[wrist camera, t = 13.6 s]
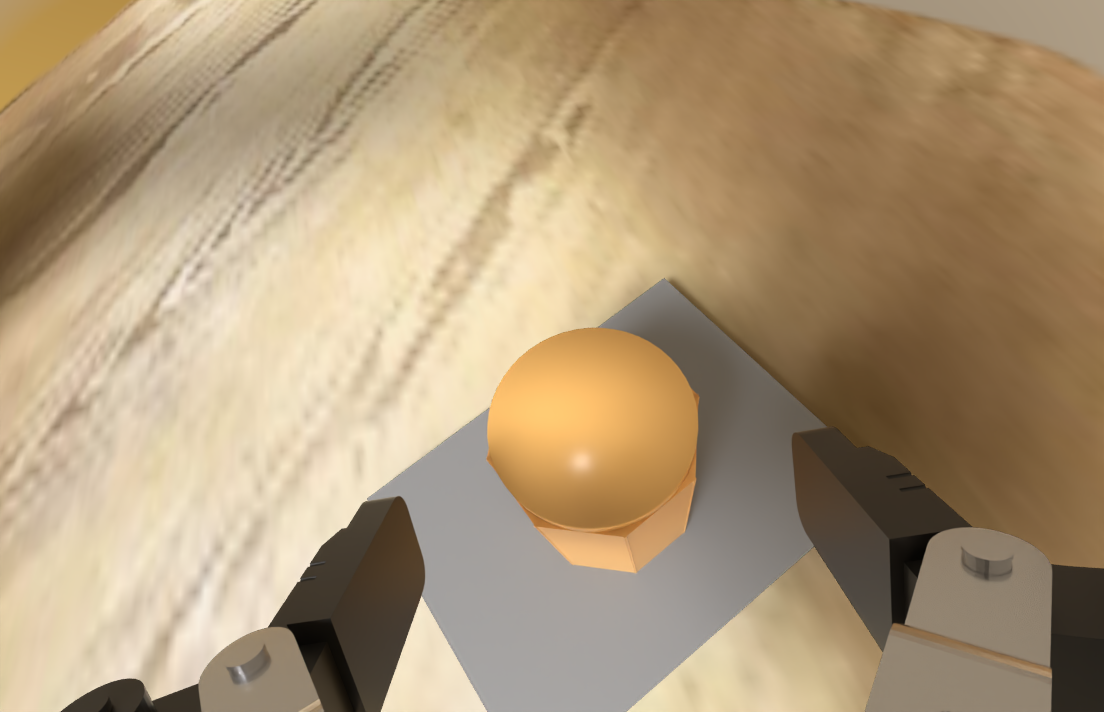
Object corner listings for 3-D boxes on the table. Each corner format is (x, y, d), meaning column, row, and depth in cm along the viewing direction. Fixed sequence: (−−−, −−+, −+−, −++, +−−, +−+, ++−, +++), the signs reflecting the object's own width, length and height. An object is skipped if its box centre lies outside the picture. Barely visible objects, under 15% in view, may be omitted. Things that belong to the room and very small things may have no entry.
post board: (541, 784, 20) (478, 854, 13) (382, 506, 25) (277, 451, 18) (874, 492, 22) (970, 419, 15) (663, 295, 28) (665, 176, 21)
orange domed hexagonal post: (600, 604, 21) (570, 579, 14) (511, 482, 23) (448, 408, 16) (718, 504, 22) (747, 432, 15) (621, 397, 24) (605, 292, 17)
